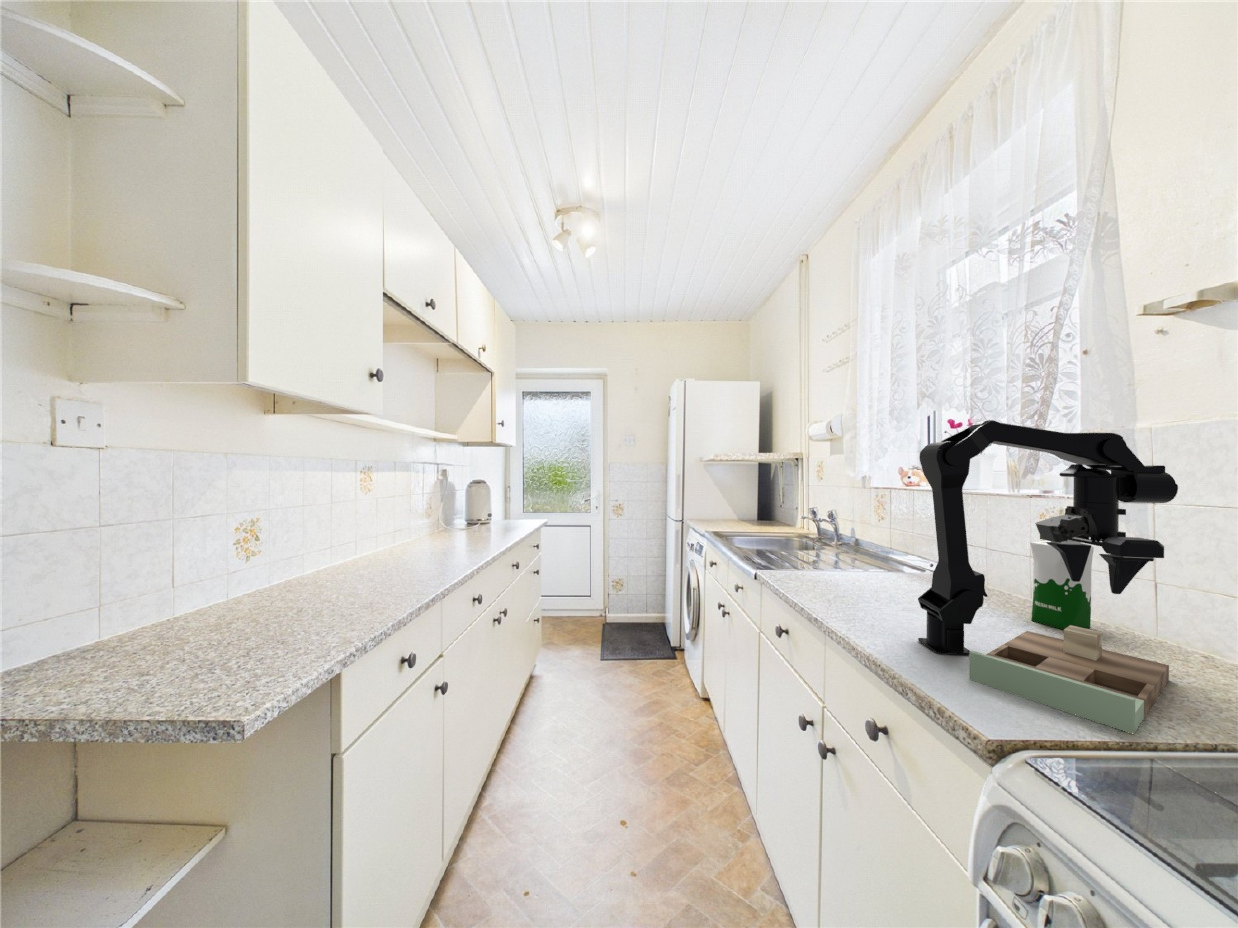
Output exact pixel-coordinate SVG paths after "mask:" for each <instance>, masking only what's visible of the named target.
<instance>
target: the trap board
mask: <svg viewBox="0 0 1238 928" xmlns="http://www.w3.org/2000/svg"><path fill="white" fill-rule="evenodd" d="M985 654H986V655H989V656H993V657H996V658H1000V659H1003V660H1006V661H1010V662H1013V663H1017V664H1020V665H1024V666H1027V667H1030V668H1034V669H1037V670H1041V671H1044V672H1048V673H1051V674H1054V675H1058V676H1061V677H1065V678H1068V679H1072V680H1075V681H1078V682H1082V683H1085V684H1089V685H1092V686H1095V687H1099V688H1102V689H1106V690H1109V691H1113V692H1116V693H1119V694H1123V695H1126V696H1130V697H1133V698H1137V699H1140V700H1143V701H1144V717H1145V718H1146V716H1147V715H1148V713H1149V712H1150V710H1151V708H1152V707H1153V705H1154V704H1155V702H1156V701H1157V699H1158V698H1159V696H1160V694H1161V693H1162V691H1163V690H1164V688H1165V687H1166V685H1167V684H1168V682H1169V681H1170V673H1169V672H1170V665H1169V664H1166V663H1162V662H1159V661H1153V660H1150V659H1145V658H1141V657H1138V656H1132V655H1129V654H1124V653H1120V652H1117V651H1112V650H1108V649H1103V648H1102V656H1101V657H1100V658H1098V659H1097V660H1096V661H1095V660H1092V659H1088V658H1084V657H1080V656H1076V655H1072V654H1068V653H1064V638H1063V639H1062V638H1057V637H1054V636H1049V635H1045V634H1041V633H1038V632H1033V631H1029V630H1026V631H1025V632H1022V633H1021V634H1019V635H1018V636H1015V637H1014V638H1012V639H1011V640H1009V641H1007V642H1005V643H1003V644H1001V645H1000V646H998V647H997V648H995V649H993V650H991V651H989V652H988V653H985ZM1146 714H1147V715H1146Z"/></svg>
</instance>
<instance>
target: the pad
mask: <svg viewBox="0 0 1238 928" xmlns="http://www.w3.org/2000/svg"><path fill="white" fill-rule="evenodd" d="M986 654H987V653H982V652H978V651H975V650H970V653H969V655H968V656H969V658H968V659H969V662H968V663H969V664H968V666H969V667H968V670H969V672H968V675H969V676H968V680H971V681H973V682H977V683H979V684H982V685H986V686H988V687H991V686H992V687H991V688H993V689H994V688H995V689H996V690H1001V691H1003V690H1004V691H1003V692H1007V693H1009V694H1012V695H1014V696H1018V697H1021V698H1024V699H1027V700H1030V701H1032V700H1033V702H1035V701H1036V702H1035V703H1038V702H1039V704H1041V705H1045V706H1047V705H1048V707H1050V708H1054V709H1057V710H1059V711H1063V712H1066V713H1068V714H1070V715H1074V714H1076V715H1075V716H1077V715H1078V716H1077V717H1080V716H1081V717H1080V718H1083V719H1086V718H1087V719H1086V720H1088V719H1091V720H1093V721H1092V722H1094V721H1095V722H1094V723H1098V724H1100V723H1102V724H1101V725H1103V724H1106V725H1108V726H1107V727H1109V726H1110V728H1112V727H1113V728H1112V729H1115V728H1118V729H1120V730H1119V731H1121V730H1123V731H1122V732H1124V731H1125V732H1124V733H1127V732H1129V733H1128V734H1130V733H1134V732H1135V731H1136V732H1137V730H1138V728H1139V727H1140V725H1141V724H1140V723H1142V722H1143V721H1144V719H1145V718H1144V701H1143V700H1140V699H1137V698H1133V697H1130V696H1126V695H1123V694H1119V693H1116V692H1113V691H1109V690H1106V689H1102V688H1099V687H1095V686H1092V685H1089V684H1085V683H1082V682H1078V681H1075V680H1072V679H1068V678H1065V677H1061V676H1058V675H1054V674H1051V673H1048V672H1044V671H1041V670H1037V669H1034V668H1030V667H1027V666H1024V665H1020V664H1017V663H1013V662H1010V661H1006V660H1003V659H1000V658H996V657H993V656H989V655H986ZM1091 720H1090V721H1091ZM1142 720H1143V721H1142ZM1106 725H1105V726H1106ZM1138 726H1139V727H1138ZM1118 729H1117V730H1118ZM1136 729H1137V730H1136ZM1136 732H1135V733H1136ZM1135 733H1134V734H1135Z"/></svg>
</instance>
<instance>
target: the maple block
mask: <svg viewBox="0 0 1238 928" xmlns="http://www.w3.org/2000/svg"><path fill="white" fill-rule="evenodd" d="M1063 640H1064V653H1068V654H1072V655H1076V656H1080V657H1084V658H1088V659H1092V660H1095V661H1096V660H1097V659H1098V658H1100V657H1101V656H1102V649H1103V632H1102V631H1098V630H1093V629H1091V628H1088V629H1085V628H1081V627H1076V626H1071V625H1070V626H1068V627H1067V628H1065V629H1064V630H1063Z"/></svg>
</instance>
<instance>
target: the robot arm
mask: <svg viewBox="0 0 1238 928" xmlns="http://www.w3.org/2000/svg"><path fill="white" fill-rule="evenodd" d="M991 444H992V445H998V446H1006V447H1012V448H1018V449H1024V450H1029V451H1037V452H1041V453H1046V454H1050V455H1053V456H1055V457H1056V458H1059V459H1060V460H1063V461H1067V462H1070V463H1072V464H1070V465H1069V467H1068V468H1066V469H1064V470H1063V471H1061V472H1059V476H1060V477H1063V478H1064V477H1065V478H1073V497H1072V498H1073V503H1072V505H1067V506H1066V508H1065V509H1064V514H1062V515H1058V516H1053V517H1049V518H1046V519H1042V520H1038V521H1037V522H1035V525H1036V529H1037V531H1038V533H1039V539H1040V540H1042V541H1051V542H1046V543H1047V544H1048V545H1051V546H1052V547H1054V548H1055V549H1056V550H1057V551H1059V553H1060V555H1061V556H1062V558H1063V561H1064V563H1065V565H1066V568H1067V570H1068V573H1069V575H1070V577H1071V580H1072V581H1074V582H1079V581H1080V580H1081V577H1082V575H1083V572H1084V569H1085V565H1086V562H1087V559H1088V555H1089V553H1090V549H1091V546H1097V547H1101V548H1102V550H1103V551H1104V552H1105V553H1099V554H1098V555H1099V556H1100V557H1101V558H1102V559H1103V560H1104V561H1105V562H1106V563H1107V564H1108V565H1107V566H1108V576H1109V577H1108V578H1109V587H1110V593H1112V594H1113V595H1121V594H1122V593H1123V591H1124V590H1125V589H1126V588H1127V586H1128V585H1129V584H1130V583H1131V581H1132V580H1133V579H1134V578H1135V577H1136V576H1137V574H1138V573H1139V572H1140V571H1141V570H1142V569H1143V568H1144V567H1146V566H1145V565H1147V563H1148V562H1154V561H1155V559H1164V558H1165V545H1164V544H1163V543H1162V542H1160V541H1159V540H1157V539H1149V538H1143V537H1136V536H1135V537H1133V536H1131V537H1130V536H1127V535H1126V534H1127V532H1124V531H1119V522H1120V521H1119V516H1126V515H1127V509H1126V508H1120V505H1119V503H1120V502H1121V503H1138V504H1139V503H1140V504H1143V503H1144V504H1166V503H1169V502H1171V501H1173V500H1174V499H1175V498H1176V497H1177V494H1178V490H1179V485H1178V484H1177V483H1176V480H1175V478H1174V477H1173V476H1172V475H1171V474H1170V473H1167V472H1166V466H1165V465H1151V464H1150V465H1145V464H1143V462H1142V461H1141V460H1140V459H1139V458H1138V457H1137V455H1136V454H1135V453H1134V452H1133V451H1132V450H1131V449H1130V448H1129V447H1128V446H1127V442H1126V441H1125V439H1124V436H1122V435H1121V434H1118V433H1115V432H1060V431H1056V430H1055V431H1054V430H1049V429H1043V428H1035V427H1030V426H1022V425H1017V424H1012V423H1011V424H1010V423H1002V422H999V421H997V420H994V419H993V420H992V419H991V420H989V419H987V420H981V421H976V422H973V423H972V424H970V425H969V426H968V427H966V428H963V429H962V430H960V431H959V432H956V433H954V434H952V435H951V436H948V437H946V438H944V439H943V440H941V441H938V442H931V443H929V444H927V445H925V446H924V447H923V448H922V449H921V450H920V452H919V461H920V465H921V470H922V472H923V476H924V477H925V479H926V481H927V482H928V484H929V486H930V488H931V490H932V491H931V492H932V500H933V501H932V502H933V512H934V524H935V536H936V546H937V557H938V562H937V564H936V566H935V567H934V570H933V572H932V578H931V587H930V588H929V589H927V590H926V591H924V592H923V593H922V595H920V596H919V597H918V598H917V601H918V604H919V606H920V608H921V609H922V610H925V611H926V637H918V638H917V640H918V642H920V643H921V644H923V645H924V646H925V647H927V648H928V649H929V650H931V651H932V652H934V653H936V654H942V655H943V654H944V655H945V654H947V655H961V656H962V655H966V656H969V653H970V651H971V650H969V649H968V648H966V647H965V625H970V624H972V622H973V619H974V617H975V615H976V613H977V611H978V610H979V609H980V608H983V605H984V600H985V598H987V597H988V594H987V592H986V589H985V583H986V579H985V574H983V573H981V572H978V571H976V570H973V568H972V566H971V564H970V557H969V547H968V538H967V527H966V516H965V515H966V513H965V505H964V504H965V503H964V495H963V494H964V493H963V487H964V485H965V482H966V480H967V478H968V476H969V472H970V464H971V459H973V458H975V457H976V456H978V455H979V454H981V453H983V451H984V450H986V449H987V448H988V447H989V446H991ZM1109 471H1110V472H1109ZM1119 501H1120V502H1119ZM984 597H985V598H984Z"/></svg>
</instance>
